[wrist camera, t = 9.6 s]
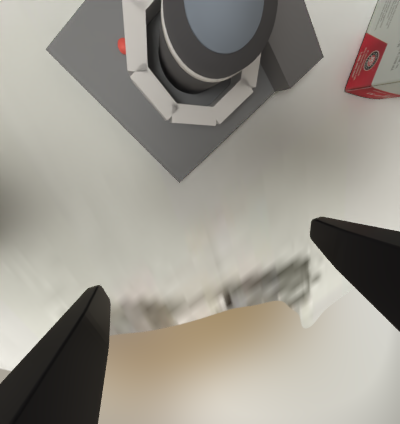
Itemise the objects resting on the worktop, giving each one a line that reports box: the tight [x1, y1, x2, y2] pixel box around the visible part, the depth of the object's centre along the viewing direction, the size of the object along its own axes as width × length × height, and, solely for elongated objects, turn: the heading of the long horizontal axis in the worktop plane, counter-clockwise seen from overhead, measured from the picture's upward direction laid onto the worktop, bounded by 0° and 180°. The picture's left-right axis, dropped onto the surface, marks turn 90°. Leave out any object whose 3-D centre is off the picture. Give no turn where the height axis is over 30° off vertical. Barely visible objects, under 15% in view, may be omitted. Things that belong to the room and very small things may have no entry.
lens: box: [158, 0, 278, 94], centre depth 10 cm, size 5×5×7 cm
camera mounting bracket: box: [46, 0, 323, 183], centre depth 13 cm, size 14×12×4 cm
